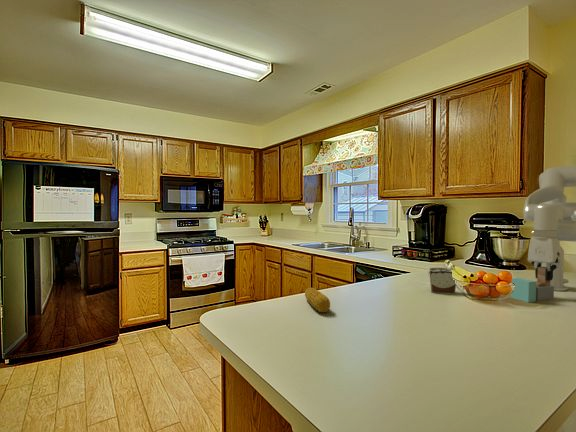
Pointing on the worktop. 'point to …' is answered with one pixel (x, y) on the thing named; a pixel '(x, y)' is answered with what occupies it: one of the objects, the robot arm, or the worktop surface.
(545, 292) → the guide channel
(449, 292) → the food container
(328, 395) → the worktop surface
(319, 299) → the food
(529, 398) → the worktop surface
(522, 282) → the teal rectangular block
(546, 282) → the rod
